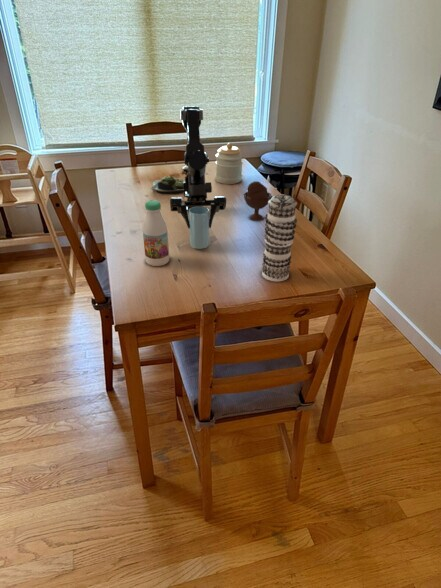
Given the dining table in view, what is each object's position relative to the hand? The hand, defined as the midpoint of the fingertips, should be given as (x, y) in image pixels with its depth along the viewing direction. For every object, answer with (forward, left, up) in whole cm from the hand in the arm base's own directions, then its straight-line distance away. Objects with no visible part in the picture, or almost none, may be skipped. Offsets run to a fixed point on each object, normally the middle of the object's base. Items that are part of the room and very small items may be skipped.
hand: (199, 227), depth 136 cm
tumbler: (-1, +1, -7) cm, 7 cm away
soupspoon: (-71, +36, -8) cm, 80 cm away
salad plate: (-59, +19, -8) cm, 63 cm away
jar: (-55, +49, -8) cm, 74 cm away
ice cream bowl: (-11, +33, -8) cm, 35 cm away
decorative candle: (+27, +12, -8) cm, 30 cm away
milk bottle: (0, -16, -8) cm, 18 cm away
